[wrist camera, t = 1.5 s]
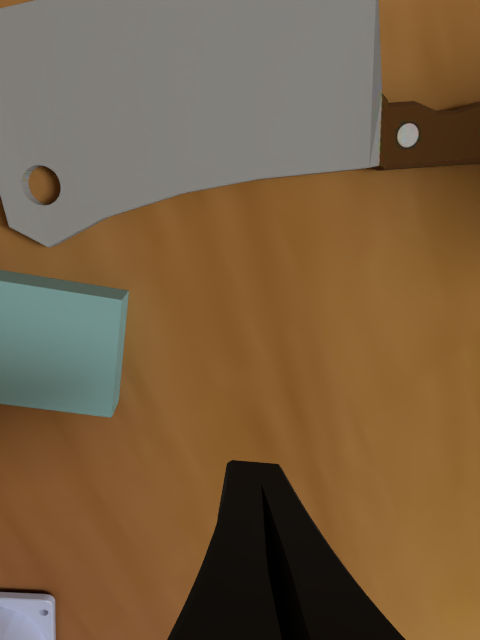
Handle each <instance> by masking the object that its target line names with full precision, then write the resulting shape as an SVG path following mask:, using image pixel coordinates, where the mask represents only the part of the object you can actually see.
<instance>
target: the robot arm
mask: <svg viewBox="0 0 480 640" xmlns="http://www.w3.org/2000/svg"><path fill="white" fill-rule="evenodd" d="M0 640H56V632H55V599H54V597H53V596H51V595H49V594H35V593H14V592H0ZM167 640H405V638H404V637H403V636H402V635H401V634H400V633H399V632H398V631H397V630H396V629H395V628H394V626H393V625H392V624H391V623H390V622H389V621H388V620H387V619H386V617H385V616H384V615H383V614H382V613H381V612H380V610H379V609H378V608H377V607H376V606H375V604H374V603H373V602H372V601H371V600H370V598H369V597H368V596H367V595H366V594H365V592H364V591H363V590H362V589H361V587H360V586H359V585H358V584H357V582H356V581H355V580H354V578H353V577H352V576H351V574H350V573H349V572H348V571H347V569H346V568H345V566H344V565H343V564H342V562H341V561H340V560H339V558H338V557H337V556H336V554H335V553H334V551H333V550H332V549H331V547H330V546H329V544H328V543H327V541H326V540H325V538H324V537H323V535H322V534H321V532H320V531H319V529H318V528H317V526H316V525H315V523H314V522H313V520H312V519H311V517H310V516H309V514H308V513H307V511H306V509H305V508H304V506H303V504H302V503H301V501H300V499H299V498H298V496H297V495H296V493H295V491H294V489H293V488H292V486H291V484H290V483H289V481H288V479H287V477H286V475H285V474H284V472H283V470H282V468H281V467H280V466H279V464H271V463H259V462H247V461H236V460H232V461H230V462H228V463H227V466H226V472H225V478H224V484H223V490H222V495H221V501H220V507H219V513H218V521H217V525H216V528H215V531H214V534H213V536H212V539H211V542H210V545H209V547H208V550H207V553H206V555H205V558H204V561H203V563H202V566H201V568H200V571H199V573H198V575H197V578H196V580H195V582H194V585H193V587H192V589H191V591H190V594H189V596H188V598H187V600H186V602H185V605H184V607H183V609H182V611H181V613H180V615H179V617H178V619H177V621H176V623H175V625H174V627H173V629H172V631H171V633H170V635H169V637H168V639H167Z"/></svg>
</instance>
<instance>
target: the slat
mask: <svg viewBox="0 0 480 640" xmlns="http://www.w3.org/2000/svg"><path fill="white" fill-rule="evenodd" d="M128 294H129V291H128V290H122V289H116V288H109V287H103V286H97V285H91V284H84V283H78V282H72V281H66V280H59V279H53V278H47V277H41V276H34V275H28V274H22V273H16V272H9V271H3V270H0V404H6V405H14V406H22V407H30V408H38V409H46V410H54V411H63V412H71V413H79V414H87V415H95V416H103V417H112V415H113V413H114V411H115V408H116V406H117V404H118V401H119V390H120V380H121V369H122V358H123V348H124V337H125V326H126V316H127V305H128Z"/></svg>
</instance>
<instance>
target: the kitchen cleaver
mask: <svg viewBox="0 0 480 640" xmlns="http://www.w3.org/2000/svg"><path fill="white" fill-rule="evenodd" d="M478 163H480V102H476V103H473V104H470V105H467V106H464V107H461V108H459V109H456V110H445V111H435V110H433V109H431V108H428V107H426V106H424V105H421V104H419V103H417V102H415V101H412V102H396V103H388V100H387V99H386V97H385V96H384V95H383V94H382V79H381V54H380V28H379V2H378V0H34V1H30V2H26V3H22V4H18V5H13V6H9V7H5V8H1V9H0V196H1V200H2V203H3V207H4V210H5V214H6V218H7V221H8V225H9V227H10V228H12V229H14V230H16V231H18V232H20V233H22V234H24V235H26V236H28V237H30V238H31V239H33V240H35V241H37V242H39V243H41V244H43V245H45V246H47V247H52V246H56V245H58V244H60V243H62V242H64V241H65V240H67V239H69V238H71V237H73V236H75V235H77V234H78V233H80V232H82V231H84V230H86V229H88V228H90V227H91V226H93V225H95V224H97V223H99V222H101V221H103V220H105V219H106V218H108V217H111V216H114V215H117V214H120V213H124V212H127V211H130V210H133V209H136V208H139V207H143V206H146V205H149V204H152V203H155V202H158V201H162V200H165V199H168V198H171V197H174V196H177V195H181V194H184V193H189V192H194V191H199V190H205V189H210V188H215V187H221V186H226V185H232V184H237V183H242V182H248V181H253V180H259V179H269V178H278V177H288V176H298V175H308V174H318V173H328V172H338V171H347V170H357V169H365V168H370V167H373V168H375V169H377V170H390V169H405V168H419V167H434V166H449V165H463V164H478ZM41 166H46V167H48V168H50V169H51V170H52V171H54V172H55V174H56V175H57V177H58V178H59V181H60V184H61V191H60V194H59V197H58V198H57V200H56V201H55V202H53V203H52V204H49V205H46V204H43V203H41V202H39V201H38V200H37V199H35V198H34V196H33V195H32V194H31V192H30V189H29V184H28V180H29V176H30V174H31V172H32V171H33V170H34V169H36V168H37V167H41Z"/></svg>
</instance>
